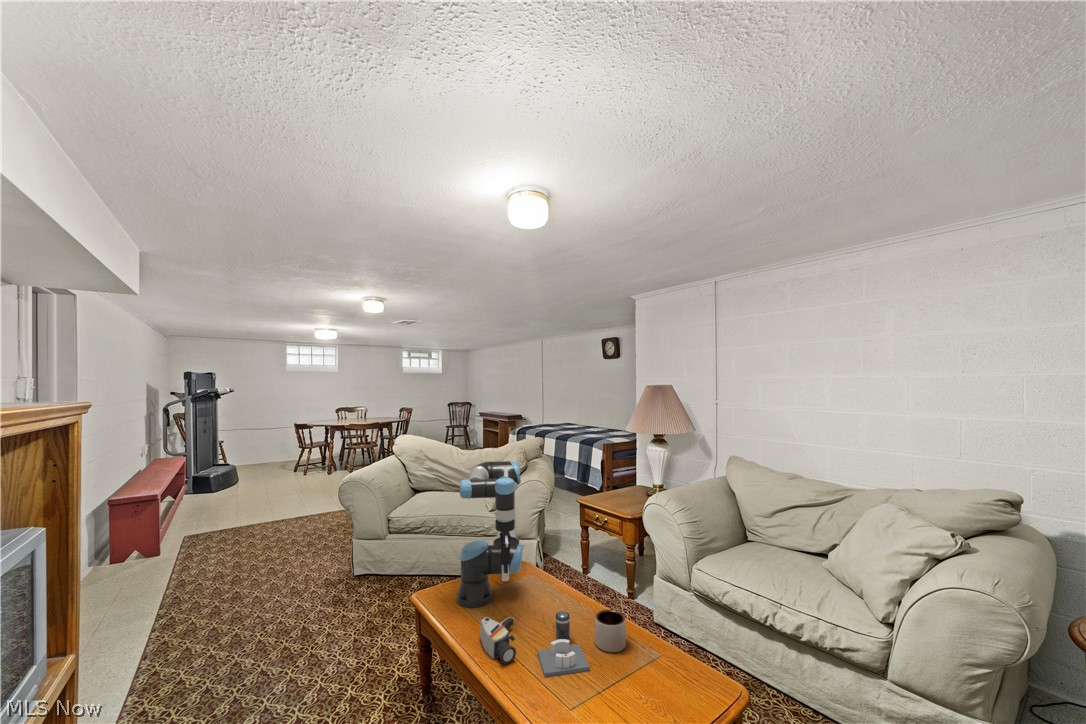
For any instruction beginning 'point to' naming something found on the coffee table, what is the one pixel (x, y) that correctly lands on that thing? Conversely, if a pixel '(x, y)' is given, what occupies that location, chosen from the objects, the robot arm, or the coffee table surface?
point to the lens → (562, 625)
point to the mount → (562, 659)
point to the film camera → (497, 639)
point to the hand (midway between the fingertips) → (505, 580)
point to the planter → (610, 631)
